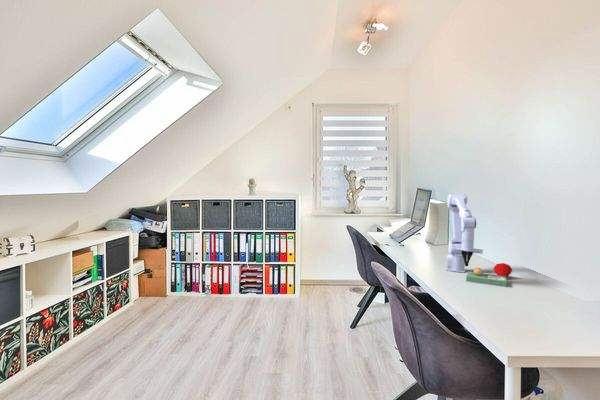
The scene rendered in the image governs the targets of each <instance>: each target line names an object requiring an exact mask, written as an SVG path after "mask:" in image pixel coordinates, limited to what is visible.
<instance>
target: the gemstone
mask: <svg viewBox="0 0 600 400" xmlns="http://www.w3.org/2000/svg"><path fill="white" fill-rule="evenodd" d="M495 264H496V265H494V266H493V273H495V275H500V276H506V278H507V279H508V277H509V276H510V275H511V274H512V272H513V268H512V267H511V265H510V264H508V263H504V262H501V263H495Z"/></svg>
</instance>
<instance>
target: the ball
mask: <svg viewBox="0 0 600 400" xmlns="http://www.w3.org/2000/svg"><path fill="white" fill-rule="evenodd" d="M473 272H474V273H475V274H476V275H481V274H482V273H483V270H482V268H480V267H475V268H474V269H473Z"/></svg>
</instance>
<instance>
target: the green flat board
mask: <svg viewBox="0 0 600 400" xmlns="http://www.w3.org/2000/svg"><path fill="white" fill-rule="evenodd" d="M507 279H508V277H507V278H506V276H500V275H497V274H490V273H483V272H482V274H481V275H476V274H475V273H474V271H467V274H466V279H465V281H466V282H470V283H475V284H476V283H478V284H484V285H490V286H499V287H504V288H505V287H507V285H508V281H507Z"/></svg>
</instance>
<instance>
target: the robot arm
mask: <svg viewBox="0 0 600 400" xmlns="http://www.w3.org/2000/svg"><path fill="white" fill-rule="evenodd" d="M446 203H447V209H448V210H449V211H450V213H451V222H452V235H453V236H452V237H453V238H451V239H450V240H449V241H448V248H447V249H448V254H446V255H447V256H446V271H449V272H457V273H465V272H466V270H467V269H466V267H469V263H470V261H471V258H472V256H473V254H480V255H483V254H484V249H480V248H474V246H475V243H474V242H475V229H476V228H477V218H476V217H475V216H473V215H472V213H471V210H470V208H468V207H467V203H468V195H467V194H466V193H464V194H463V193H461V194H460V193H449V194H448V195H447V199H446Z"/></svg>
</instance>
